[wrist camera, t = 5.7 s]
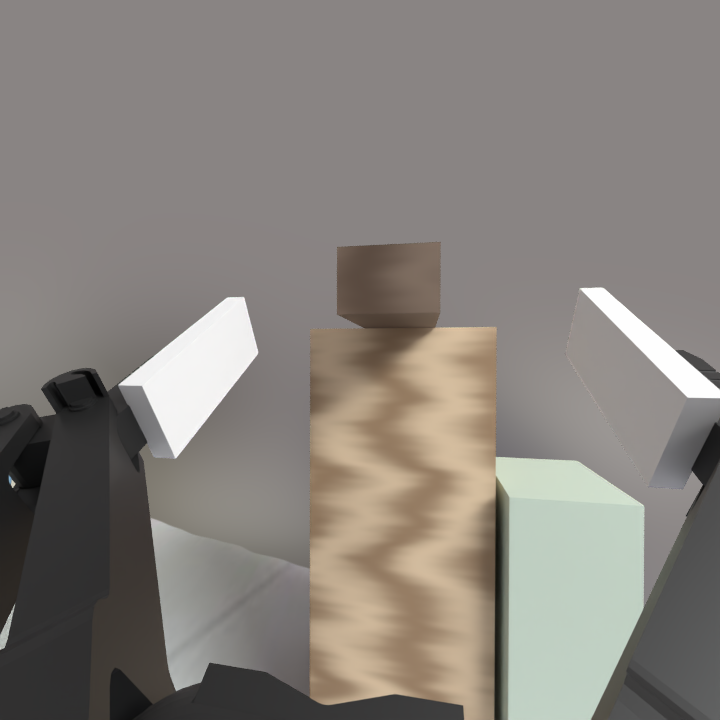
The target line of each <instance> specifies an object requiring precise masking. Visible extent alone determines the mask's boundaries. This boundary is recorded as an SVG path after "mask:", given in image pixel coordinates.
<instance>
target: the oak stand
mask: <svg viewBox="0 0 720 720" xmlns="http://www.w3.org/2000/svg"><path fill="white" fill-rule="evenodd" d="M310 335H311V336H310V339H311V340H310V342H311V343H310V345H311V346H310V698H311V699H313V700H315V701H316V702H318V703H320V704H324V705H333V704H339V703H345V702H350V701H356V700H362V699H368V698H374V697H380V696H386V695H392V694H398V695H404V696H410V697H416V698H422V699H428V700H434V701H440V702H446V703H452V704H458V705H463V708H464V720H494V685H495V505H496V327H464V328H463V327H459V328H364V329H363V328H362V329H311V331H310Z"/></svg>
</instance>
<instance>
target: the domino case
mask: <svg viewBox="0 0 720 720" xmlns="http://www.w3.org/2000/svg"><path fill="white" fill-rule="evenodd" d="M439 314H440V242H429V243H410V244H390V245H370V246H348V247H337V315H339V316H342V317H343V318H345V319H347V320H349V321H351V322H353V323H355V324H357V325H359V326H361V327H363V328H435V326H436V323H437V320H438V317H439Z"/></svg>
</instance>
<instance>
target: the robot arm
mask: <svg viewBox="0 0 720 720" xmlns="http://www.w3.org/2000/svg"><path fill="white" fill-rule="evenodd" d="M257 354H258V350H257V346H256V342H255V338H254V334H253V330H252V327H251V323H250V319H249V315H248V311H247V307H246V304H245V299H244V297H228V298H226V299H225V300H224V301H222V302H221V303H220V304H219V305H217V306H216V307H215V308H214V309H212V310H211V311H210V312H209V313H207V314H206V315H205V316H204V317H202V318H201V319H200V320H199V321H197V322H196V323H195V324H194V325H192V326H191V327H190V328H189V329H187V330H186V331H185V332H184V333H182V334H181V335H180V336H179V337H178V338H176V339H175V340H174V341H172V342H171V343H170V344H169V345H167V346H166V347H165V348H164V349H162V350H161V351H160V352H159V353H157V354H156V355H155V356H153V357H151V358H150V359H148V360H147V361H146V362H144V363H143V364H142V365H141V367H138V368H137V369H136V370H134V371H133V373H132V374H129V375H128V376H127V377H126V378H124V379H123V380H122V381H121V382H119V383H118V384H117V385H116V386H114V387H113V388H112V389H111V390H109V391H108V392H107V391H106V389H105V387H104V385H103V383H102V381H101V379H100V377H99V376H98V374H97V372H96V370H95V369H91V368H82V369H77V370H73V371H69V372H67V373H64V374H61V375H59V376H57V377H55V378H53V379H51V380H50V381H49V382H47V383H46V384H45V385H44V386H43V387H42V389H41V390H42V391H43V393H44V395H45V396H46V398H47V399H48V401H49V402H50V404H51V405H52V407H53V409H54V410H55V412H56V415H50V416H44V417H39V416H38V415H37V413H36V412H35V410H34V409H33V407H32V406H31V405H27V404H22V405H15V406H12V407H6V408H2V409H0V634H1V632H2V630H3V627H4V625H5V623H6V621H7V619H8V617H9V615H10V613H11V611H12V609H13V606H14V604H15V608H14V613H13V617H12V622H11V627H10V631H9V636H8V640H7V643H6V646H5V648H4V649H2V650H0V720H464V708H463V705H458V704H452V703H446V702H440V701H434V700H428V699H422V698H416V697H410V696H404V695H398V694H392V695H386V696H380V697H374V698H368V699H362V700H356V701H350V702H345V703H339V704H333V705H324V704H320V703H318V702H316V701H315V700H313V699H311V698H310V697H308V696H306V695H304V694H303V693H301V692H299V691H297V690H296V689H294V688H292V687H291V686H289V685H287V684H285V683H284V682H282V681H280V680H278V679H277V678H275V677H273V676H272V675H270V674H268V673H266V672H262V671H256V670H250V669H244V668H238V667H232V666H226V665H220V664H214V663H209V665H208V668H207V670H206V672H205V675H204V677H203V680H202V682H201V683H198V684H195V685H192V686H189V687H186V688H183V689H181V690H178V691H176V690H175V688H174V685H173V682H172V680H171V677H170V673H169V670H168V664H167V657H166V648H165V640H164V631H163V623H162V614H161V606H160V597H159V589H158V580H157V572H156V563H155V555H154V546H153V538H152V529H151V521H150V512H149V504H148V496H147V487H146V479H145V470H144V461H143V459H142V457H141V455H140V453H139V451H140V450H141V449H142V447H143V446H145V444H146V443H147V444H148V446H149V448H150V450H151V452H152V454H153V456H154V457H158V458H174V459H176V458H177V456H178V455H179V454H180V453H181V451H182V450H183V449H184V447H185V446H186V445H187V443H188V442H189V441H190V439H192V437H193V436H194V435H195V433H196V432H197V431H198V430H199V428H200V427H201V426H202V424H203V423H204V422H205V421H206V419H207V418H208V417H209V416H210V414H211V413H212V412H213V410H214V409H215V408H216V407H217V405H218V404H219V403H220V402H221V400H222V399H223V398H224V396H225V395H226V394H227V393H228V391H229V390H230V389H231V388H232V386H233V385H234V384H235V382H236V381H237V380H238V378H239V377H240V376H241V375H242V374H243V372H244V371H245V370H246V368H247V367H248V366H249V365H250V363H251V362H252V361H253V359H254V358H255V357H256V356H257ZM565 355H566V357H567V358H568V360H569V362H570V363H571V364H572V366H573V368H574V370H575V371H576V373H577V374H578V376H579V378H580V379H581V381H582V382H583V384H584V386H585V387H586V389H587V390H588V392H589V394H590V395H591V397H592V398H593V400H594V402H595V403H596V405H597V407H598V408H599V410H600V411H601V413H602V414H603V416H604V418H605V419H606V421H607V423H608V424H609V426H610V427H611V429H612V431H613V432H614V434H615V435H616V437H617V439H618V440H619V442H620V443H621V445H622V446H623V448H624V450H625V451H626V453H627V455H628V456H629V458H630V459H631V461H632V463H633V464H634V466H635V467H636V469H637V471H638V472H639V474H640V476H641V477H642V479H643V480H644V482H645V483H646V485H647V487H654V488H671V489H683V488H684V486H685V484H686V482H687V480H688V478H689V476H690V474H691V473H692V471H693V472H694V474H695V475H696V476H697V477H698V479H699V480H700V481H701V483H702V484H703V486H702V487H701V489H700V491H699V493H698V495H697V496H696V498H695V500H694V502H693V504H692V506H691V508H690V509H689V511H688V513H687V515H686V516H687V518H686V520H685V522H684V524H683V526H682V528H681V531H680V533H679V535H678V537H677V539H676V541H675V543H674V545H673V547H672V550H671V552H670V554H669V556H668V558H667V560H666V562H665V564H664V566H663V569H662V571H661V573H660V575H659V577H658V579H657V581H656V583H655V586H654V588H653V590H652V592H651V594H650V596H649V598H648V600H647V602H646V604H645V607H644V609H643V611H642V613H641V615H640V617H639V619H638V621H637V623H636V626H635V628H634V630H633V632H632V634H631V636H630V638H629V640H628V642H627V645H626V647H625V649H624V651H623V653H622V655H621V657H620V659H619V661H618V664H617V666H616V668H615V670H614V672H613V674H612V676H611V678H610V680H609V683H608V685H607V687H606V689H605V691H604V693H603V695H602V697H601V699H600V702H599V704H598V706H597V708H596V710H595V712H594V714H593V716H592V718H591V720H720V373H718V372H716V370H715V369H714V368H712V367H711V366H710V365H709V364H708V363H706V362H705V361H704V360H702V359H701V358H698V357H696V356H694V355H692V354H690V353H688V352H686V351H684V350H674V349H673V348H671V347H670V346H669V345H668V344H667V343H666V342H664V341H663V340H662V339H661V338H660V337H659V336H658V335H656V334H655V333H654V332H653V331H652V330H651V329H650V328H648V327H647V326H646V325H645V324H644V323H643V322H642V321H640V320H639V319H638V318H637V317H636V316H635V315H633V314H632V313H631V312H630V311H629V310H628V309H627V308H625V307H624V306H623V305H622V304H621V303H620V302H619V301H617V300H616V299H615V298H614V297H613V296H612V295H611V294H609V293H608V292H607V291H606V290H605V289H604V288H580V289H579V293H578V298H577V302H576V307H575V312H574V316H573V320H572V325H571V330H570V334H569V338H568V343H567V347H566V352H565ZM11 479H12V480H13V481H14V482H15V483H16V484H15V486H14V488H12V486H11ZM15 602H16V603H15Z"/></svg>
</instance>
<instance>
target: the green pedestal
mask: <svg viewBox="0 0 720 720" xmlns="http://www.w3.org/2000/svg"><path fill="white" fill-rule="evenodd" d="M643 593H644V505H642V504H641V503H639V502H638V501H636V500H635V499H633V498H632V497H630V496H629V495H627V494H626V493H624V492H623V491H621V490H619V489H618V488H617V487H615V486H614V485H612V484H611V483H609V482H608V481H606V480H605V479H603V478H602V477H600V476H599V475H597V474H596V473H594V472H593V471H592V470H590V469H589V468H587V467H586V466H584V465H583V464H581V463H580V462H578V461H567V460H546V459H525V458H504V457H496V505H495V685H494V720H591V718H592V716H593V714H594V712H595V710H596V708H597V706H598V704H599V702H600V699H601V697H602V695H603V693H604V691H605V689H606V687H607V685H608V683H609V680H610V678H611V676H612V674H613V672H614V670H615V668H616V666H617V664H618V661H619V659H620V657H621V655H622V653H623V651H624V649H625V647H626V645H627V642H628V640H629V638H630V636H631V634H632V632H633V630H634V628H635V626H636V623H637V621H638V619H639V617H640V615H641V613H642V611H643V596H644V595H643Z"/></svg>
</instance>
